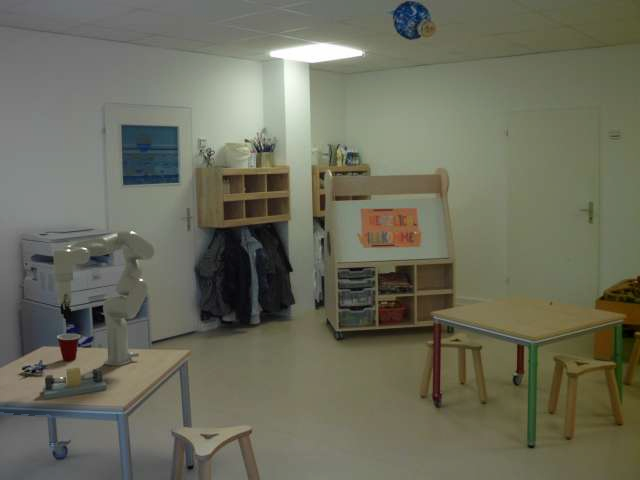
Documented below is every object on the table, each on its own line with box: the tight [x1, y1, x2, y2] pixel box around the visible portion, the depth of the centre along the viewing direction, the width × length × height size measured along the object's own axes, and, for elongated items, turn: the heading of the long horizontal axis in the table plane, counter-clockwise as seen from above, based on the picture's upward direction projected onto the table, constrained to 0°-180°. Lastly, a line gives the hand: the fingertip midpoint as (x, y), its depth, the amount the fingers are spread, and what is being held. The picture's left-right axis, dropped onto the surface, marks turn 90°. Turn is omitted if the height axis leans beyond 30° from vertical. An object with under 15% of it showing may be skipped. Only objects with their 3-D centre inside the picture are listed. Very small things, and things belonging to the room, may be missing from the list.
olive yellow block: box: [66, 367, 82, 388], centre depth 287 cm, size 5×4×7 cm
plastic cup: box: [56, 333, 81, 362], centre depth 334 cm, size 11×11×12 cm
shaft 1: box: [44, 374, 67, 390], centre depth 285 cm, size 8×4×5 cm, turn 102°
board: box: [42, 378, 108, 400], centre depth 288 cm, size 24×11×2 cm, turn 117°
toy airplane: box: [19, 359, 49, 378], centre depth 312 cm, size 13×14×4 cm
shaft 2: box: [81, 367, 104, 383], centre depth 291 cm, size 8×4×5 cm, turn 132°
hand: (66, 316), depth 301 cm, fingers open, 9 cm apart
